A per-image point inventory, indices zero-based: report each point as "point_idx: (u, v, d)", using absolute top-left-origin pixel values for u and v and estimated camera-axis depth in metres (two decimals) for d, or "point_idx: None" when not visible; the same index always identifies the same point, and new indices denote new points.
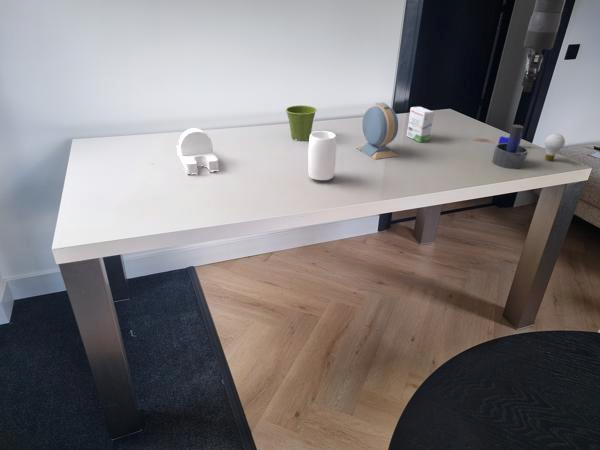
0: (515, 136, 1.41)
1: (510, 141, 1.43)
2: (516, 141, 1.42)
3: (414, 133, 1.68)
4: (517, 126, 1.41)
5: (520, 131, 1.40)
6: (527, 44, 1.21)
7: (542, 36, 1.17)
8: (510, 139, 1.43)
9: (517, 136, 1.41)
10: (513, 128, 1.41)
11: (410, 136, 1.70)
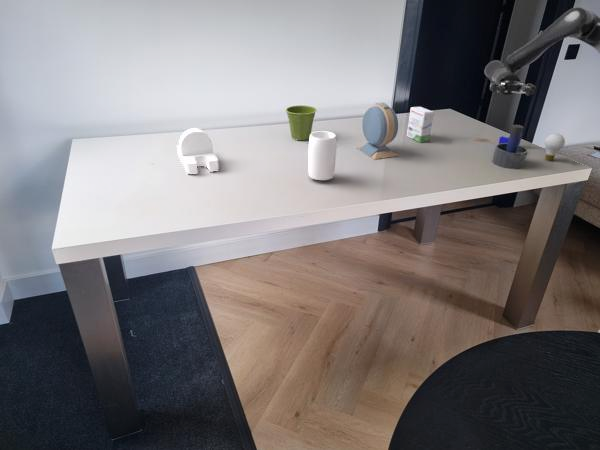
0: (515, 136, 1.41)
1: (510, 141, 1.43)
2: (516, 141, 1.42)
3: (414, 133, 1.68)
4: (517, 126, 1.41)
5: (520, 131, 1.40)
6: None
7: (496, 81, 1.59)
8: (510, 139, 1.43)
9: (517, 136, 1.41)
10: (513, 128, 1.41)
11: (410, 136, 1.70)
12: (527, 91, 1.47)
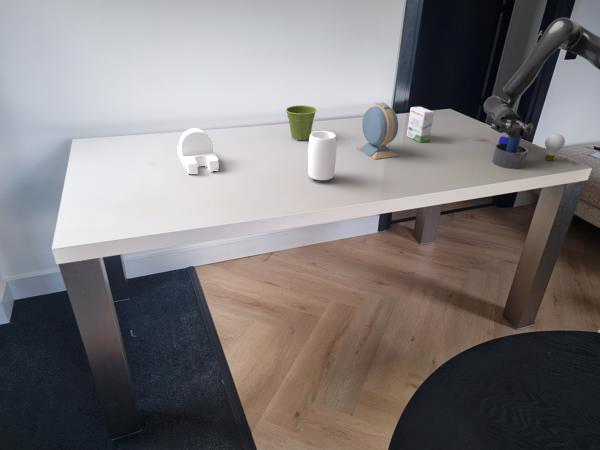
0: (515, 136, 1.41)
1: (510, 141, 1.43)
2: (516, 141, 1.42)
3: (414, 133, 1.68)
4: (517, 126, 1.41)
5: (520, 131, 1.40)
6: None
7: (496, 119, 1.54)
8: (510, 139, 1.43)
9: (517, 136, 1.41)
10: (513, 128, 1.41)
11: (410, 136, 1.70)
12: (522, 132, 1.41)
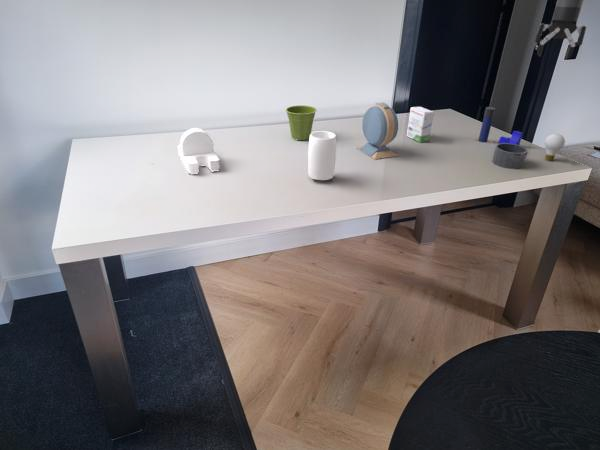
0: (486, 116, 1.62)
1: (483, 121, 1.64)
2: (487, 121, 1.62)
3: (414, 133, 1.68)
4: (489, 108, 1.61)
5: (490, 112, 1.60)
6: None
7: None
8: (483, 119, 1.63)
9: (487, 116, 1.61)
10: (485, 109, 1.61)
11: (410, 136, 1.70)
12: (567, 52, 1.47)
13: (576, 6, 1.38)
